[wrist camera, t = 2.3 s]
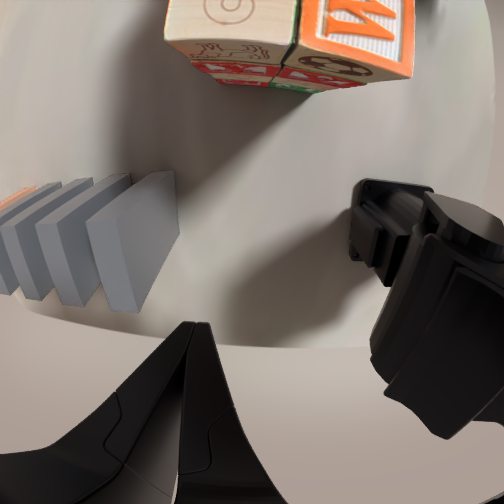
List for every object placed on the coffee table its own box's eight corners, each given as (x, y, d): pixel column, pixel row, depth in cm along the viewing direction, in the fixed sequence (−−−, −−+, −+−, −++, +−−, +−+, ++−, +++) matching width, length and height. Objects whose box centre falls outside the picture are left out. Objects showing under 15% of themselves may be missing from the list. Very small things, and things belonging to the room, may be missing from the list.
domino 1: (35, 185, 18) (-36, 230, 10) (46, 235, 20) (-14, 290, 12) (24, 187, 18) (-44, 231, 10) (36, 235, 20) (-23, 288, 12)
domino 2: (60, 181, 18) (-15, 228, 10) (72, 234, 20) (10, 295, 12) (48, 183, 18) (-26, 229, 10) (59, 234, 20) (-2, 293, 12)
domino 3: (92, 177, 18) (14, 225, 10) (102, 233, 20) (41, 301, 12) (76, 179, 18) (-1, 226, 10) (87, 234, 20) (25, 298, 12)
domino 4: (130, 173, 18) (56, 223, 10) (138, 233, 20) (83, 307, 12) (111, 175, 18) (34, 224, 10) (120, 233, 20) (62, 304, 12)
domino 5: (174, 170, 18) (116, 220, 10) (179, 233, 20) (138, 313, 12) (152, 171, 18) (85, 221, 10) (159, 233, 20) (111, 310, 12)
